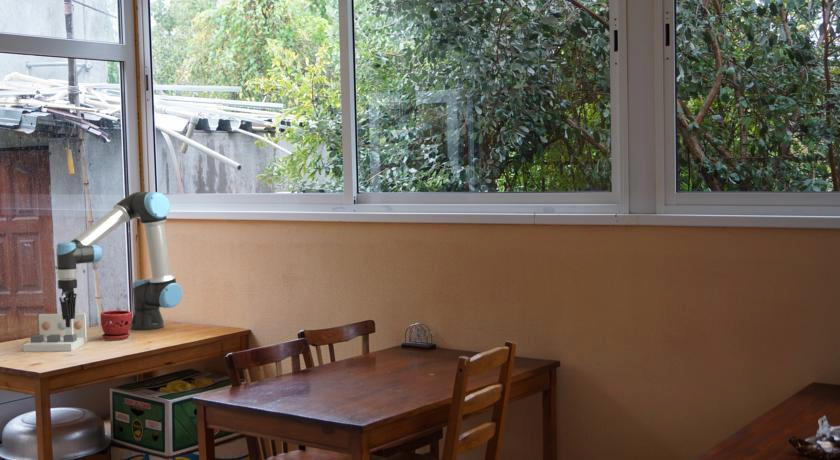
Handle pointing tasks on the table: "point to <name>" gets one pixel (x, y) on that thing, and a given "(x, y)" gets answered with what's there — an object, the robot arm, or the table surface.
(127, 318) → the plant pot
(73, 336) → the outer button
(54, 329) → the pattern sign
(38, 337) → the outer button
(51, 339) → the middle button
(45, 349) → the console
